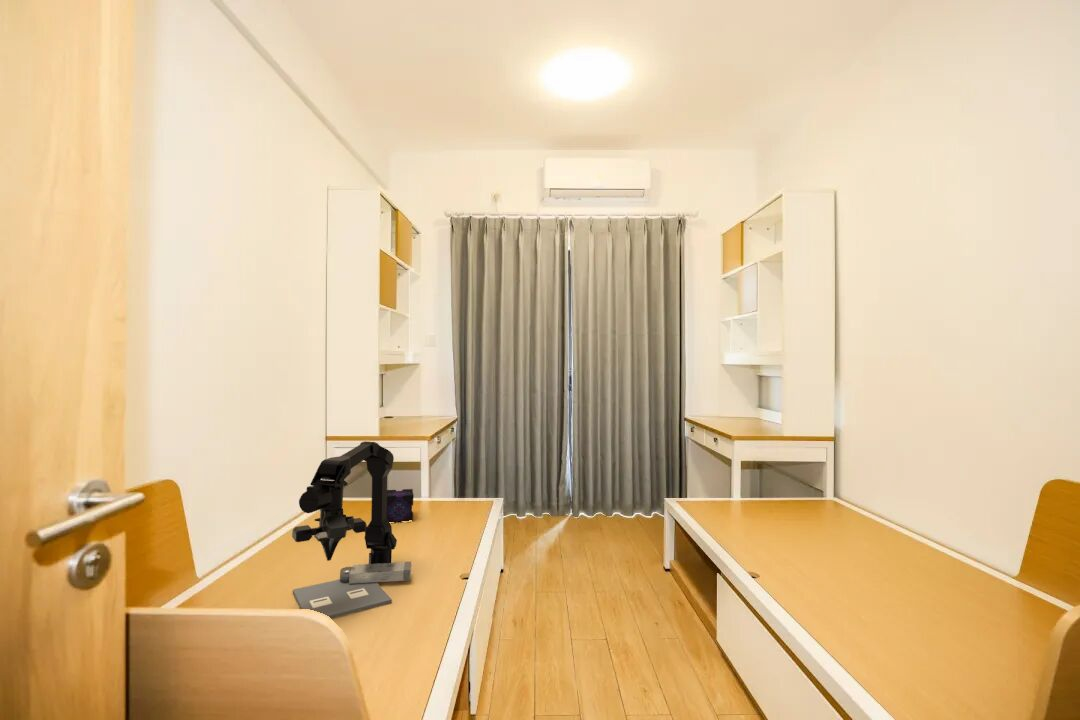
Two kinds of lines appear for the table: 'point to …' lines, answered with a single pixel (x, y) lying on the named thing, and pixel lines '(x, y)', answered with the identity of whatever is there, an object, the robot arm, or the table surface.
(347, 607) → the label board
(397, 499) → the energy cube
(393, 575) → the grey long block
